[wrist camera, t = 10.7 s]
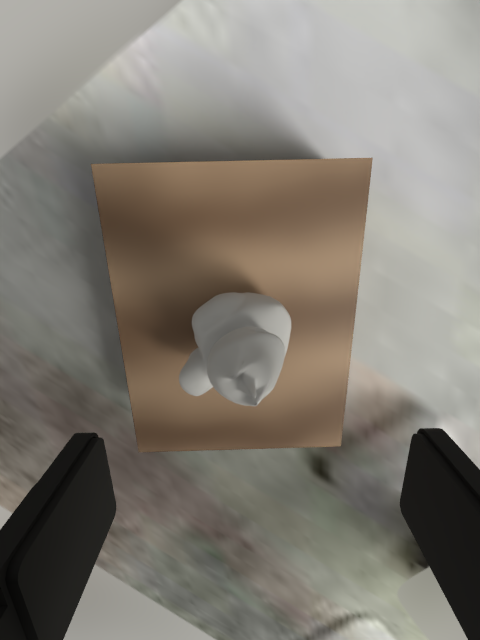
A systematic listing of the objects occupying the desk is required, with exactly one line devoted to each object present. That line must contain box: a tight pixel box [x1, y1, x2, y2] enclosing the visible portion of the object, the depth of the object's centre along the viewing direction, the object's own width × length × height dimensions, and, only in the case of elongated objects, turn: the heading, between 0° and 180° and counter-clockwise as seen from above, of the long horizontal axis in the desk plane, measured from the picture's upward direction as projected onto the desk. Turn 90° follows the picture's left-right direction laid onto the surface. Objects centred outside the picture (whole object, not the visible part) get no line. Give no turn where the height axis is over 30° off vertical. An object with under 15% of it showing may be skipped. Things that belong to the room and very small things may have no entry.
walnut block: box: [91, 158, 372, 452], centre depth 22 cm, size 18×14×6 cm
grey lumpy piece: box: [179, 292, 291, 406], centre depth 15 cm, size 5×7×8 cm
